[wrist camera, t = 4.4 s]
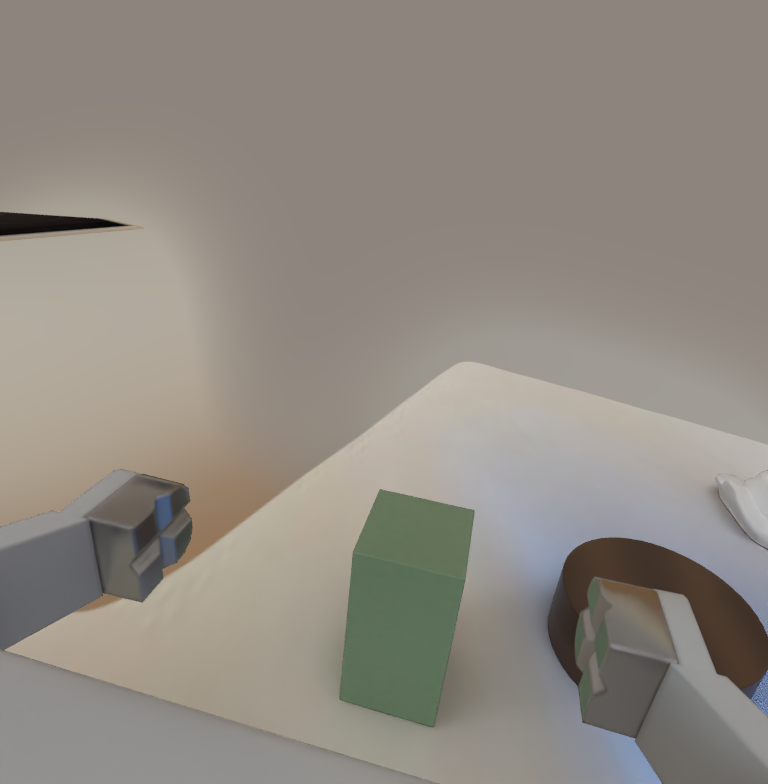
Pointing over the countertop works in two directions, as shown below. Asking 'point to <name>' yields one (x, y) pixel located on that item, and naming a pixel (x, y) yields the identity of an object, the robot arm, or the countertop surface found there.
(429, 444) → the countertop surface
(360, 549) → the block
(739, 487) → the white flat lumpy piece
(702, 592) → the cylinder
